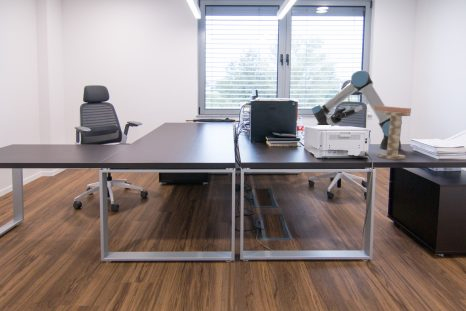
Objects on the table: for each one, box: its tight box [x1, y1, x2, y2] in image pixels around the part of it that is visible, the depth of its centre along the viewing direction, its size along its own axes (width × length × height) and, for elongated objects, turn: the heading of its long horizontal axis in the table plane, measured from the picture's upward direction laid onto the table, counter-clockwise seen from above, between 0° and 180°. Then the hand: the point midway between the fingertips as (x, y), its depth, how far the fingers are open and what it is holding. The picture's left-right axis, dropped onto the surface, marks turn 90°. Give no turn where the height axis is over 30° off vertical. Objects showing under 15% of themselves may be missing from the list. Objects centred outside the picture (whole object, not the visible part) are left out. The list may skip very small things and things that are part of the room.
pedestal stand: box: [378, 111, 411, 161], centre depth 275 cm, size 12×12×30 cm
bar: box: [374, 105, 412, 114], centre depth 275 cm, size 24×4×3 cm, turn 36°
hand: (355, 106), depth 298 cm, fingers open, 13 cm apart
